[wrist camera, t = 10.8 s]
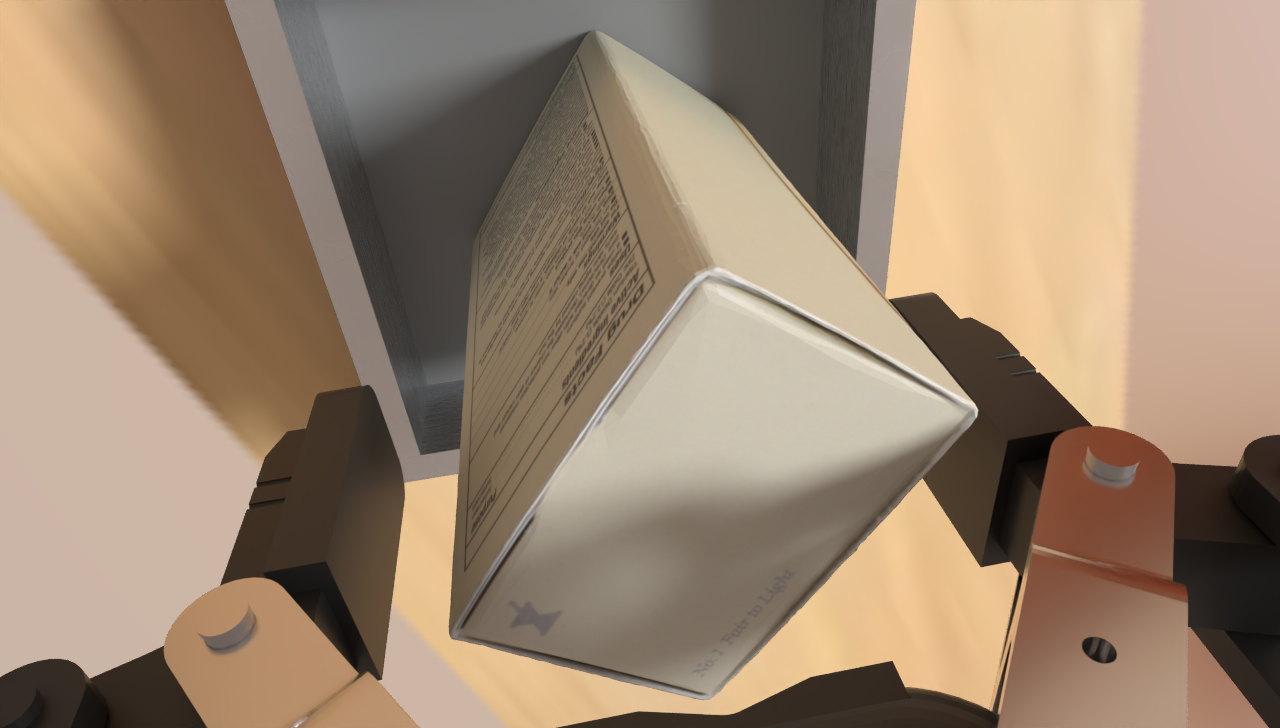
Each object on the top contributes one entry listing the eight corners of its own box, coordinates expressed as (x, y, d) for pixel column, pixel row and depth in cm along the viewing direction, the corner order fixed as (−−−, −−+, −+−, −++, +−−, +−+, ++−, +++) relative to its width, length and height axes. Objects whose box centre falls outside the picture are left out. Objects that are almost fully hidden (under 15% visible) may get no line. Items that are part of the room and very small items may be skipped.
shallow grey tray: (834, 344, 24) (873, 405, 21) (406, 412, 23) (396, 483, 21) (868, -160, 17) (932, -154, 14) (244, -91, 16) (199, -72, 13)
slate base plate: (846, 345, 25) (855, 360, 24) (391, 417, 24) (388, 434, 23) (888, -205, 17) (904, -206, 16) (205, -132, 16) (192, -129, 15)
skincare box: (612, 309, 22) (709, 717, 12) (462, 239, 20) (431, 651, 10) (745, 108, 19) (1006, 420, 10) (586, 8, 18) (703, 265, 8)
